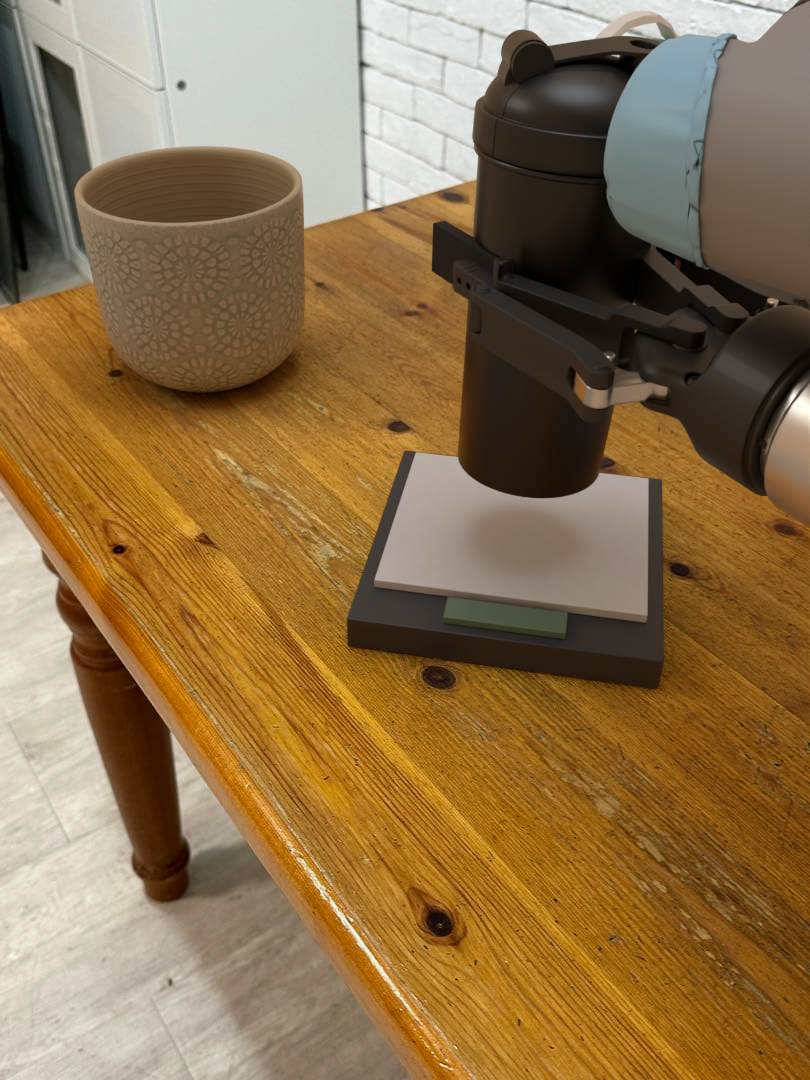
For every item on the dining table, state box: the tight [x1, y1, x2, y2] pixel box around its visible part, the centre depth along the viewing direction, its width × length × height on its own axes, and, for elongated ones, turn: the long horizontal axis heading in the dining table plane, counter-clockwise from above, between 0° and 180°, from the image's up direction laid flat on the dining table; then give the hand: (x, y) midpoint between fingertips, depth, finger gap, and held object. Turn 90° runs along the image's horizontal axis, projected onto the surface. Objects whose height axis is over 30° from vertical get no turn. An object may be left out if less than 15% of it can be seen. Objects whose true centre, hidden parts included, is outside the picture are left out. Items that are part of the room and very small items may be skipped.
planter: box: [73, 145, 306, 393], centre depth 83 cm, size 17×17×15 cm
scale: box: [346, 450, 665, 690], centre depth 66 cm, size 18×18×3 cm
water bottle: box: [457, 28, 661, 498], centre depth 56 cm, size 10×10×23 cm
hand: (487, 234), depth 58 cm, fingers closed on water bottle, 6 cm apart
